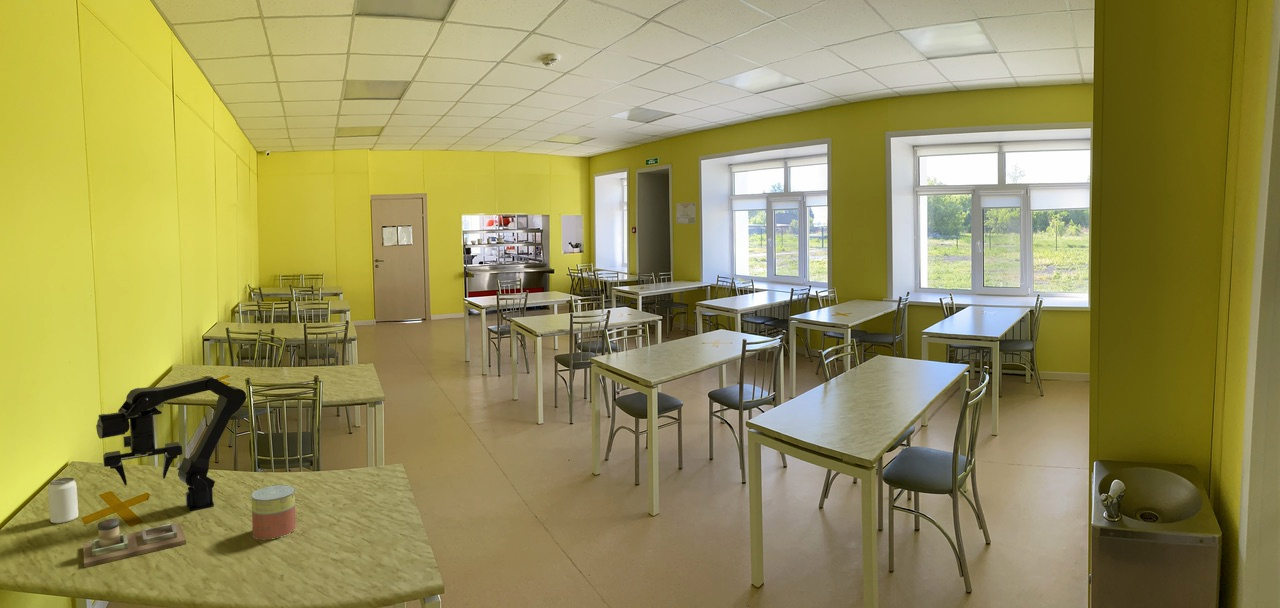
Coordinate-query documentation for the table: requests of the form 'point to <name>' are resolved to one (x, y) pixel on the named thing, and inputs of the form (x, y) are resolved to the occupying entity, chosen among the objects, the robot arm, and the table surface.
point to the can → (63, 500)
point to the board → (134, 544)
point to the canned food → (273, 511)
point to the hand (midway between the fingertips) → (145, 481)
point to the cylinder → (109, 533)
